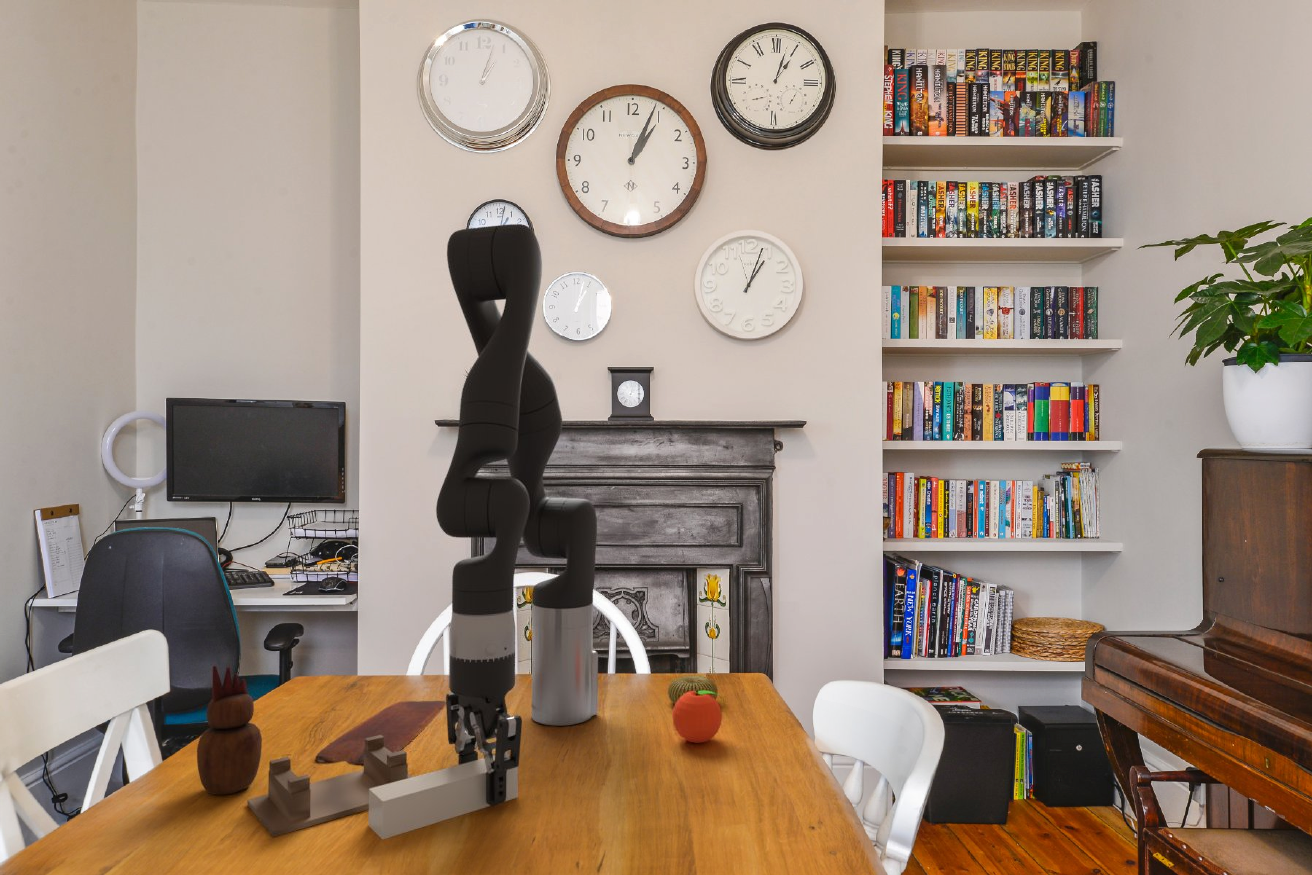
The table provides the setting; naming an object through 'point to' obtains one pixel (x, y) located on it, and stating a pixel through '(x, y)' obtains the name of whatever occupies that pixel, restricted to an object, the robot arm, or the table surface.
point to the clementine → (697, 716)
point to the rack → (325, 790)
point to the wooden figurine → (229, 738)
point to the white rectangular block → (432, 798)
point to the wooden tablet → (382, 731)
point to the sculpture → (690, 686)
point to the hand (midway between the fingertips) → (481, 793)
